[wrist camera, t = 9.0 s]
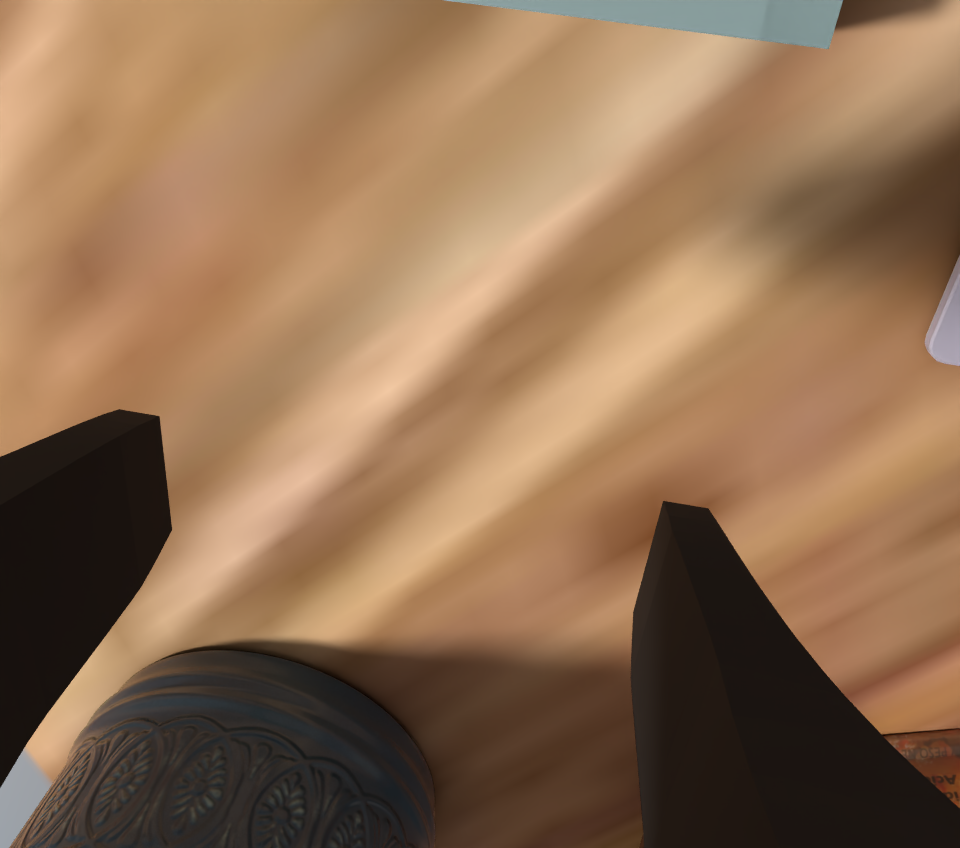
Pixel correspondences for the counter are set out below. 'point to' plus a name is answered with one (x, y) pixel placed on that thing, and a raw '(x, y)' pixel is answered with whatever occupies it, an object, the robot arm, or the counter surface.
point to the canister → (237, 764)
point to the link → (704, 16)
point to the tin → (930, 758)
